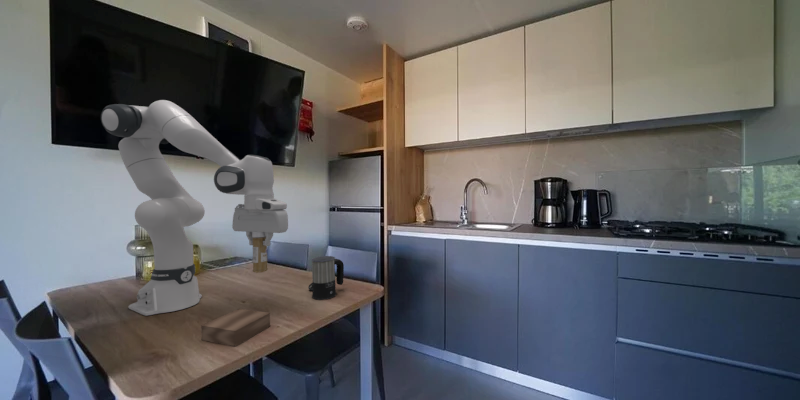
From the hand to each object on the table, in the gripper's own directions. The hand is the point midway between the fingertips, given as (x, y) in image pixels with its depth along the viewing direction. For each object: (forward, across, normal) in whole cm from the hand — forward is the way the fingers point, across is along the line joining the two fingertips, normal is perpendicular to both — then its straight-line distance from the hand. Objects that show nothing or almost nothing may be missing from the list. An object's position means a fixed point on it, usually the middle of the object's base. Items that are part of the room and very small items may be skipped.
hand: (259, 245), depth 94 cm
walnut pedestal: (+23, +4, -13) cm, 26 cm away
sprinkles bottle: (+9, 0, 0) cm, 9 cm away
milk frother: (+23, +8, +23) cm, 33 cm away
